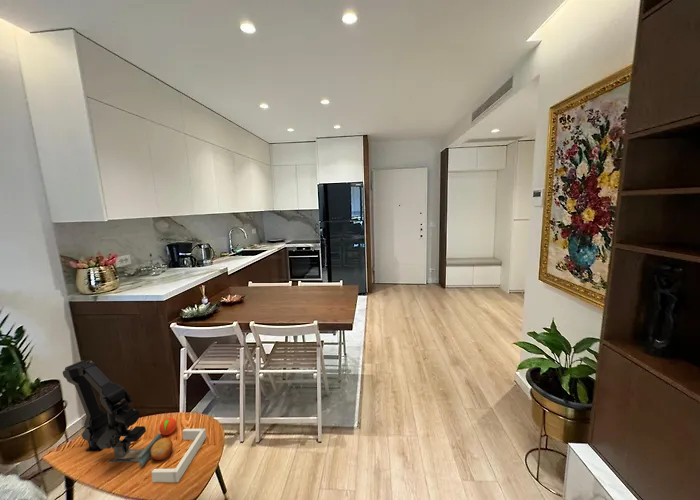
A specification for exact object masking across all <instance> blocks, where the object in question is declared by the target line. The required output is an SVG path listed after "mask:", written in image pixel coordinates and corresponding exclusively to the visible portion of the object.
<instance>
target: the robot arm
mask: <svg viewBox="0 0 700 500" xmlns="http://www.w3.org/2000/svg"><path fill="white" fill-rule="evenodd" d="M62 376H63V378H65V379H66V381H67V382H68V383H69V384H70V385H74V387H75V389H76V393H77V395H78V397H79V400H80V403H81V405H82V408H83V410H84V414H85V415H86V416H85V417H86V418H85V420H84V423H83V426H84V428H85V429H84V431H83V432H81V437H82V439H83V440H84V441H87V443H88V448H87V449H86V450H85V451H86V452H101V451H102V450H103V449H107V450H108V449H111V448H112V449H113V450H114V448H113V447H114V446H115V445H116V444H117V443H118V442H119V441H120V440H121V438H123V439H122V441H121V442H120V443H123V445H124V450H125V452H127V451H128V449H130V446H131V443H136V442H138V441H139V440H140V439H141V437H142V436H144V434H146V432H147V430H146V429H147V428H146V425H145V426H144V425H143V426H142V425H137V426H136V425H135V424H136V423H137V422H138V420H139V419H140V415H141V413H140V412H139V410H137V409H134V407H131V406H129V405H130V404H131V403H133V400H132V396H131V395H130V393H129V392H128V391H127V389H125V387H122V385H120V384H118V383H114V382H112V381H111V380H109V378H107V376H106V374H104V373H103V372H102V371H101V370H100V368H98V367H97V363H96V362H94V361H92V360H84V359H82V360H80V361H78V362H75V363H72V364H70V365H67V366H65V368H64V370H63V371H62ZM93 388H94V389H95V390H96V391H97V392H98V393H99V401H100V403H101V406H103V408H104V409H105V410H106V411H104V410H102V409H101V406H100V404H99V402H98V399H97V396H96V394H95V392H94V389H93ZM123 400H124V401H123ZM134 425H135V426H134ZM132 426H134V428H130V427H132Z"/></svg>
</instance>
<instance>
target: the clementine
mask: <svg viewBox="0 0 700 500" xmlns="http://www.w3.org/2000/svg"><path fill="white" fill-rule="evenodd" d="M176 428H177V420H176V419H175V418H173V417H167V418H165V419H164V420H162V422H160V424H159V429H158V430H159V433H161V435H163V436H168V435H171V434H173V433H174V431H175V430H176Z"/></svg>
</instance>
